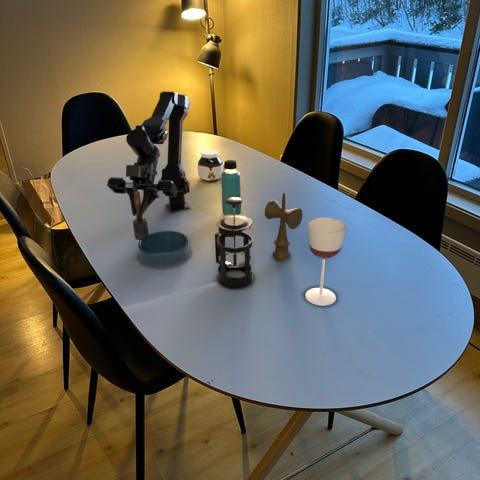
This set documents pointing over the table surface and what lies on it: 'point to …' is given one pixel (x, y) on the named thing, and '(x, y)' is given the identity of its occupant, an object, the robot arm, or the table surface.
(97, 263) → the table surface
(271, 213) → the kendama
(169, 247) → the dish
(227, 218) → the french press
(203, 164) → the spread jar
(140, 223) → the peg on round base
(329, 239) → the wineglass
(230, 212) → the beverage bottle
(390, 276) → the table surface
